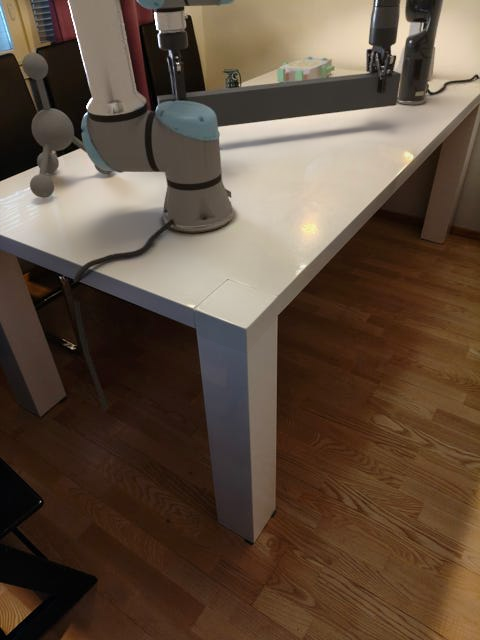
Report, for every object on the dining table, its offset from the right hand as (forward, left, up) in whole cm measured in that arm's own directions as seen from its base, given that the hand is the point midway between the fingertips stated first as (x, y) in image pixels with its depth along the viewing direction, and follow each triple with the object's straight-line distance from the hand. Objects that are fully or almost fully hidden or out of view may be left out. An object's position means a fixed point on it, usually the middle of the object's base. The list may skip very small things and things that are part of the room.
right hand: (376, 90), depth 145 cm
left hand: (+40, -44, -3) cm, 59 cm away
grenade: (-18, -59, -11) cm, 63 cm away
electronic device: (-66, -2, -11) cm, 67 cm away
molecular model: (+68, -59, -11) cm, 91 cm away
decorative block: (-56, -45, -11) cm, 73 cm away
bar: (+20, -22, -4) cm, 30 cm away
